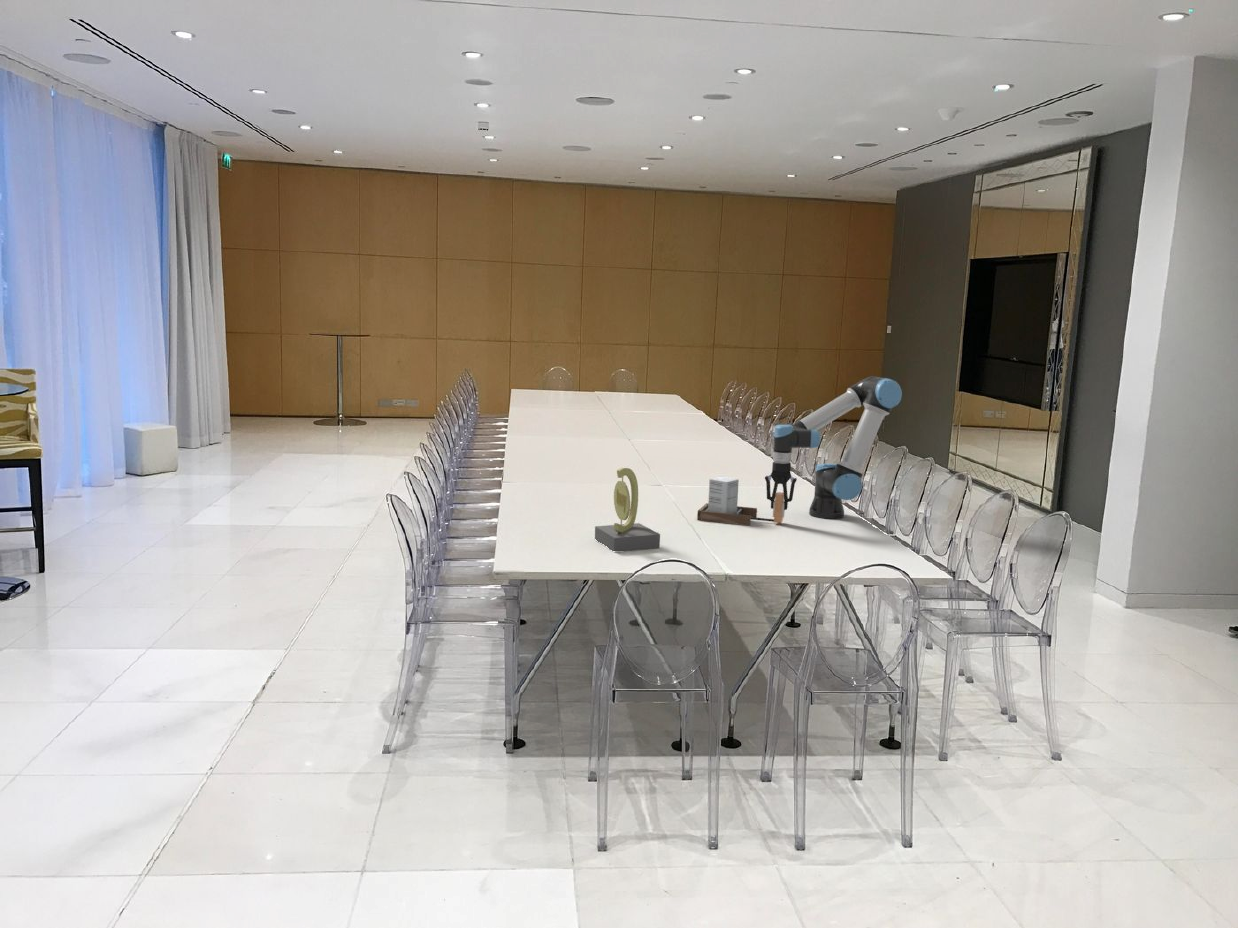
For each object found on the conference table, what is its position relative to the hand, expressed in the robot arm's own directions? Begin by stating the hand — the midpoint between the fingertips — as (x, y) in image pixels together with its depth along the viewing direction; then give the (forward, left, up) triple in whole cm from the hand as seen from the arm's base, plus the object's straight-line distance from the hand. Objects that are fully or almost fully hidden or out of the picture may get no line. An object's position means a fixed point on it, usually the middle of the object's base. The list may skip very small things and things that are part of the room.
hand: (778, 516), depth 420 cm
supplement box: (0, -24, -3) cm, 24 cm away
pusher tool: (0, -15, -3) cm, 15 cm away
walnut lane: (0, -22, -3) cm, 22 cm away
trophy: (+59, -49, -3) cm, 77 cm away
